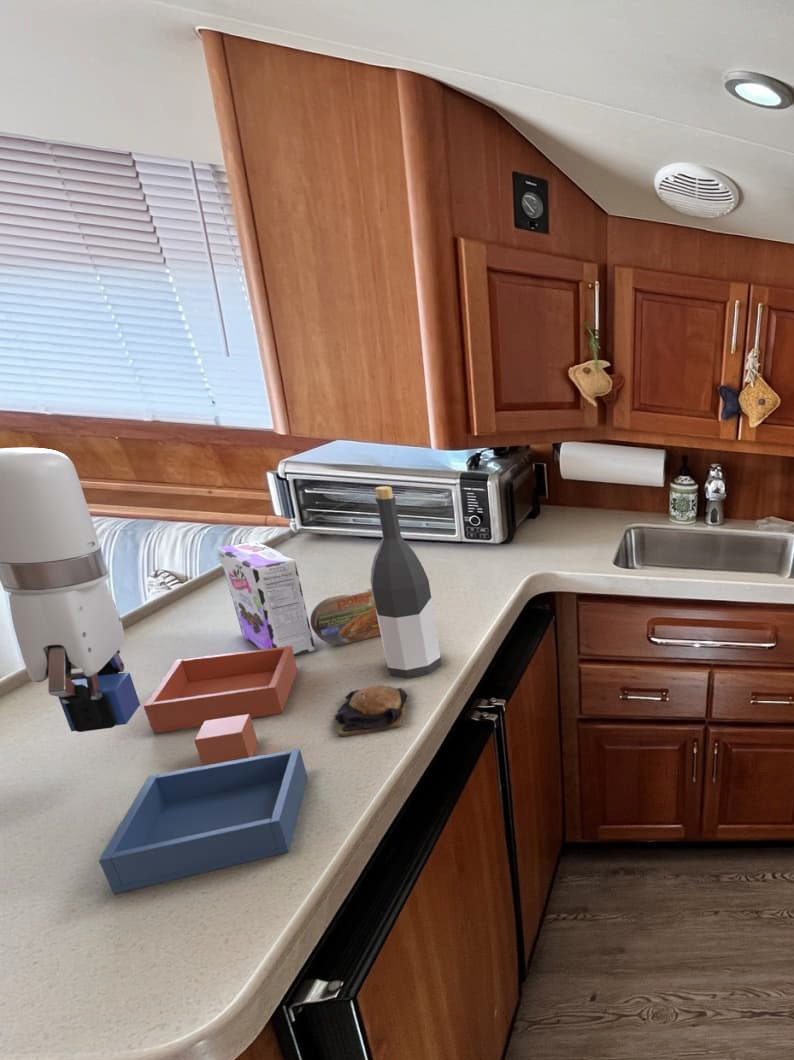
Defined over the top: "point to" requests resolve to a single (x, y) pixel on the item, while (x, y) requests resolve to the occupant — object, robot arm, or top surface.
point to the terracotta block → (226, 739)
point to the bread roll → (371, 710)
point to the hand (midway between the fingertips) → (106, 714)
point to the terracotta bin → (222, 688)
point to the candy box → (267, 596)
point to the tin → (346, 618)
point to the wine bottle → (402, 599)
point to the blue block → (114, 696)
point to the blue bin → (206, 820)
